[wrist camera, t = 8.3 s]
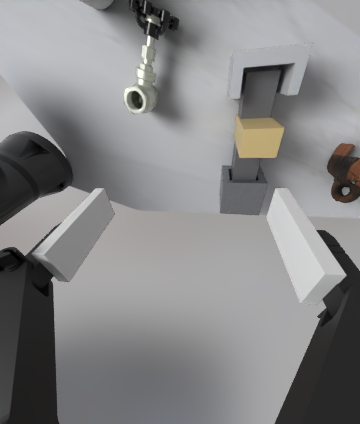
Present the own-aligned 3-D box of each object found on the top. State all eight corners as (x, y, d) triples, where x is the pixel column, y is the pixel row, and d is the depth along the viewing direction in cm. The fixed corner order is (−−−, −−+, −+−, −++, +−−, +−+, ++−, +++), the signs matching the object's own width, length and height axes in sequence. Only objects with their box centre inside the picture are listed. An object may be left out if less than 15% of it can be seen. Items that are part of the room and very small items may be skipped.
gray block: (219, 193, 40) (220, 213, 34) (222, 165, 36) (223, 182, 30) (252, 194, 39) (258, 215, 33) (259, 165, 34) (267, 183, 29)
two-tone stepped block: (228, 178, 35) (231, 207, 28) (241, 73, 25) (252, 72, 17) (251, 178, 34) (261, 208, 27) (274, 70, 24) (301, 68, 16)
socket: (227, 93, 28) (229, 99, 22) (230, 56, 25) (234, 51, 19) (279, 89, 27) (297, 94, 20) (288, 50, 24) (313, 42, 18)
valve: (163, 115, 32) (183, 25, 24) (153, 123, 27) (174, 12, 19) (129, 102, 31) (139, 5, 24) (112, 107, 26) (117, -13, 19)
